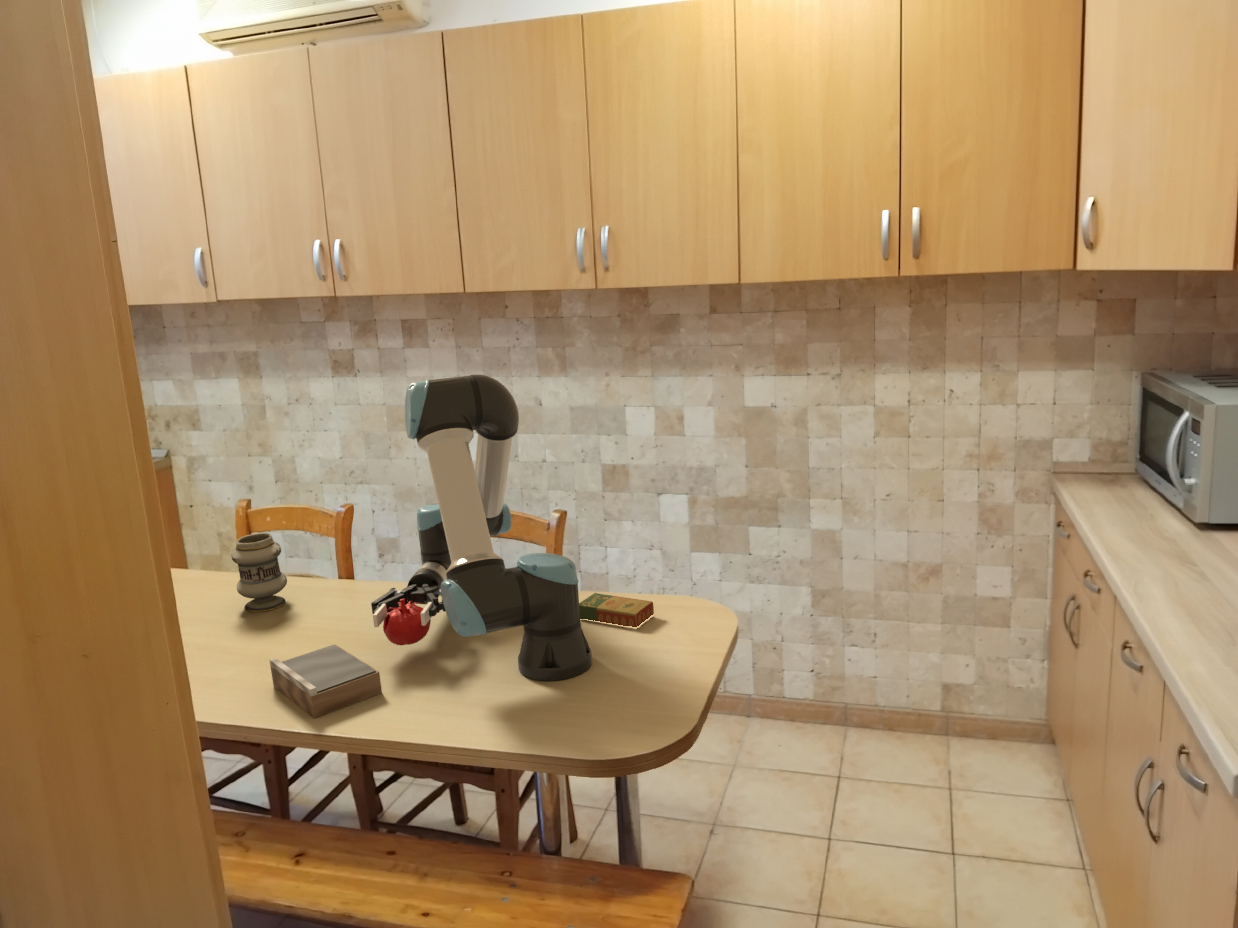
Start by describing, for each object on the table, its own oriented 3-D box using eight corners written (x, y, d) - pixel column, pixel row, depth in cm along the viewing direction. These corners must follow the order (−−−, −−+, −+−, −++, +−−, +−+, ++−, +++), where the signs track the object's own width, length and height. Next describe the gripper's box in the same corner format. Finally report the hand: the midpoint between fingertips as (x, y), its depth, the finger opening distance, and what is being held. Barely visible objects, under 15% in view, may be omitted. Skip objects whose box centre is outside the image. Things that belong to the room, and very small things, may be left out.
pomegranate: (441, 631, 204) (436, 591, 202) (416, 650, 195) (411, 607, 193) (401, 628, 207) (396, 588, 205) (375, 646, 198) (370, 604, 196)
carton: (636, 631, 210) (635, 613, 209) (576, 620, 218) (574, 603, 217) (654, 617, 217) (653, 600, 216) (595, 608, 225) (594, 591, 224)
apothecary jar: (230, 608, 239) (219, 540, 235) (272, 593, 248) (262, 527, 244) (257, 617, 232) (246, 547, 228) (299, 601, 241) (289, 533, 237)
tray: (381, 692, 187) (378, 665, 186) (314, 718, 178) (310, 689, 177) (337, 663, 202) (334, 638, 200) (273, 686, 193) (269, 659, 192)
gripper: (476, 597, 217) (453, 635, 195) (383, 600, 219) (349, 639, 197) (473, 566, 216) (449, 601, 194) (379, 570, 217) (344, 605, 196)
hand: (399, 620), depth 196 cm, fingers closed on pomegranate, 9 cm apart
